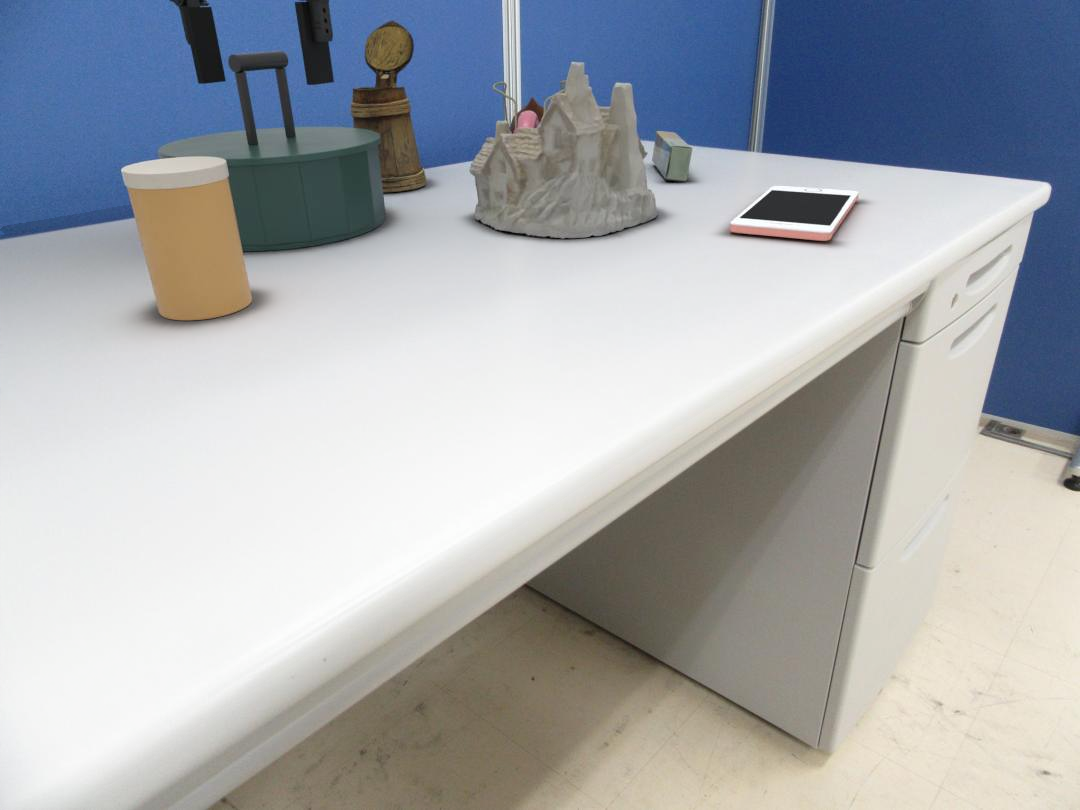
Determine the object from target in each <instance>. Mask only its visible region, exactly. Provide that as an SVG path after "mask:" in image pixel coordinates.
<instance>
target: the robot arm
mask: <svg viewBox="0 0 1080 810" xmlns="http://www.w3.org/2000/svg"><path fill="white" fill-rule="evenodd" d="M169 2H172V3H174V5H175V6H176V7H178V9H179V13H180V17H181V22H182V27H183V32H184V37H185V41H186V42H187V45H189V46H190V51H191V55H192V59H193V64H194V68H195V75H196V78H197V83H198V84H199V85H202V84H203V85H204V84H205V85H206V84H214V83H223V82H227V80H226V75H225V69H224V65H223V58H222V55H221V54H222V53H221V49H220V43H219V39H218V34H217V33H218V32H217V29H216V23H215V18H214V13H213V8H212V6H209V5H210V3H209V2H208V1H207V0H169ZM294 8H295V15H296V21H297V28H298V34H299V38H300V39H299V41H300V47H301V54H302V61H303V67H304V73H305V80H306V85H308V86H316V85H324V84H331V83H335V77H334V72H333V66H332V64H333V63H332V58H331V56H332V55H331V50H330V43H329V42H333V37H334V33H333V24H332V16H331V10H330V0H299V1H294Z"/></svg>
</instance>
